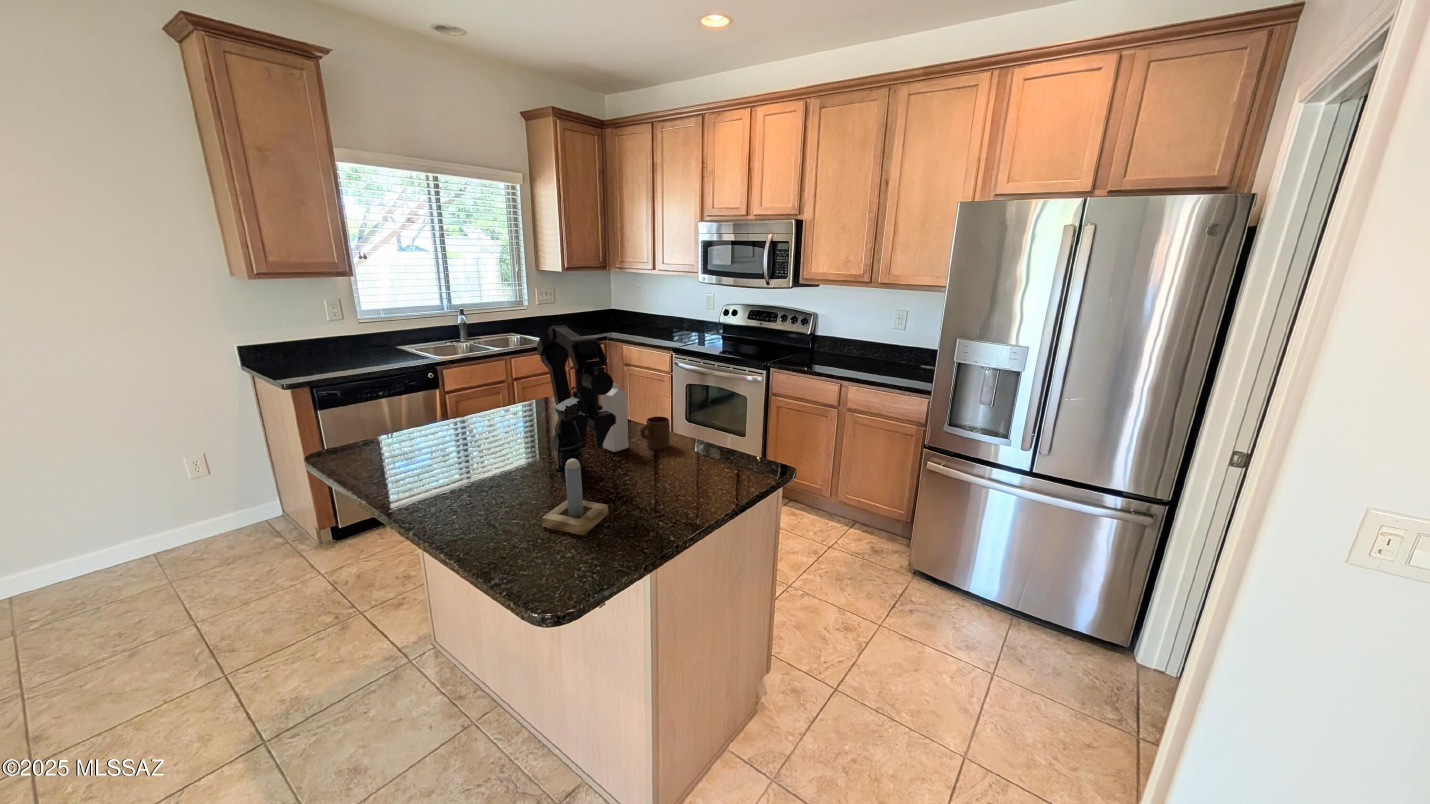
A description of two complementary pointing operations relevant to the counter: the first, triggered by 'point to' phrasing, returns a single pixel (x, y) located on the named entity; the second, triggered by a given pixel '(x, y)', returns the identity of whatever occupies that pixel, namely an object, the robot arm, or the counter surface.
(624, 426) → the milk
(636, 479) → the counter surface
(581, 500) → the blue-grey cylinder
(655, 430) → the mug
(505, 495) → the counter surface
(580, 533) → the wooden square frame
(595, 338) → the robot arm
